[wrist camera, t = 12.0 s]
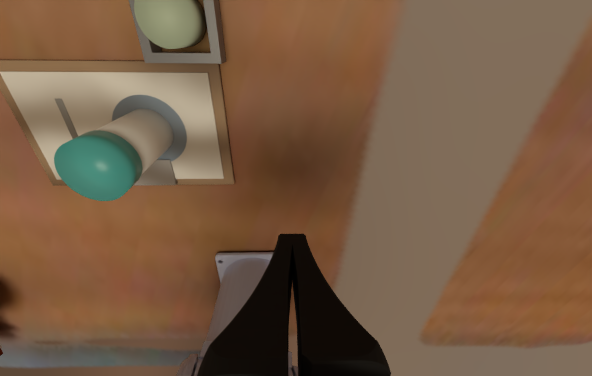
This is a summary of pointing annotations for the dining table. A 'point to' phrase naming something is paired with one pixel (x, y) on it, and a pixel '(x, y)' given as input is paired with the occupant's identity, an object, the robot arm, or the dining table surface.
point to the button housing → (216, 55)
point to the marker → (113, 154)
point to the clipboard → (124, 111)
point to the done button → (171, 22)
